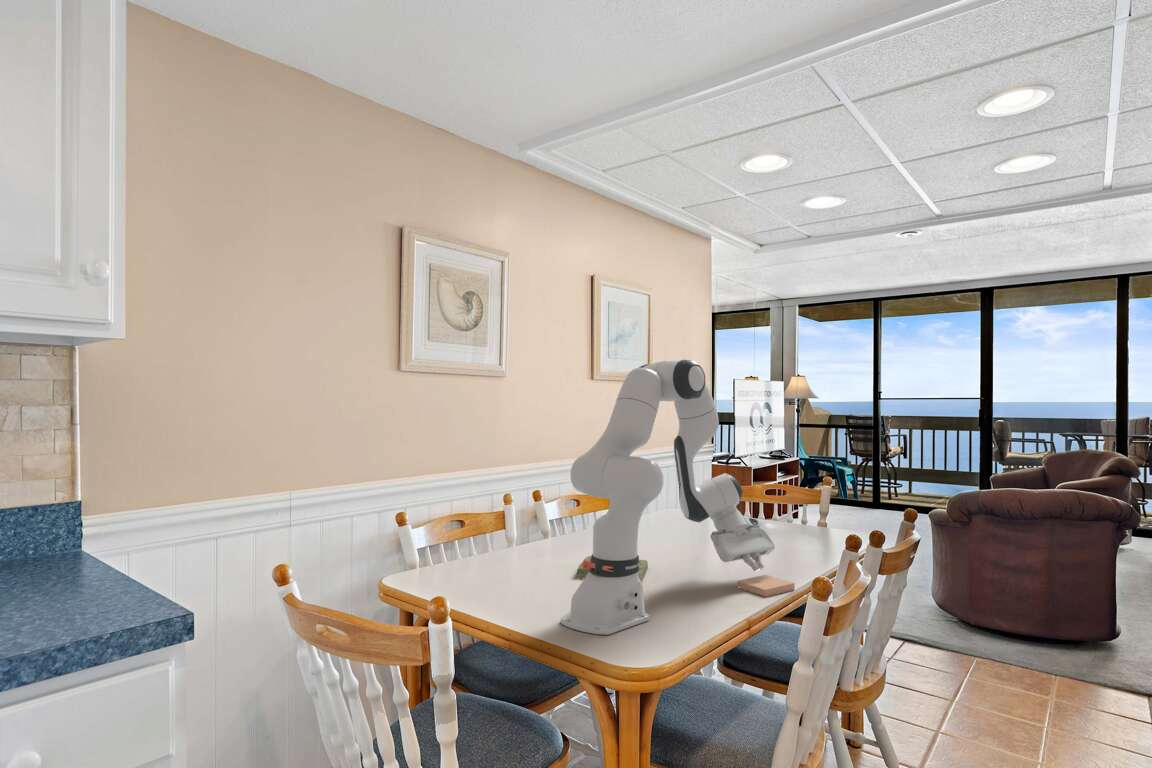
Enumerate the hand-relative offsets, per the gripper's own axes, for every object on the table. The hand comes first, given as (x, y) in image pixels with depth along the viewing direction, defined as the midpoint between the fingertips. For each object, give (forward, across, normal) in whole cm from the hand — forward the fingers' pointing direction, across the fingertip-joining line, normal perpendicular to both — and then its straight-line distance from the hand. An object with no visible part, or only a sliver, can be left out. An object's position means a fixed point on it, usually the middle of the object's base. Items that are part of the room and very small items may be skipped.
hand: (759, 569), depth 180 cm
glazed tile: (+1, 0, +5) cm, 5 cm away
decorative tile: (-20, -27, +28) cm, 43 cm away
